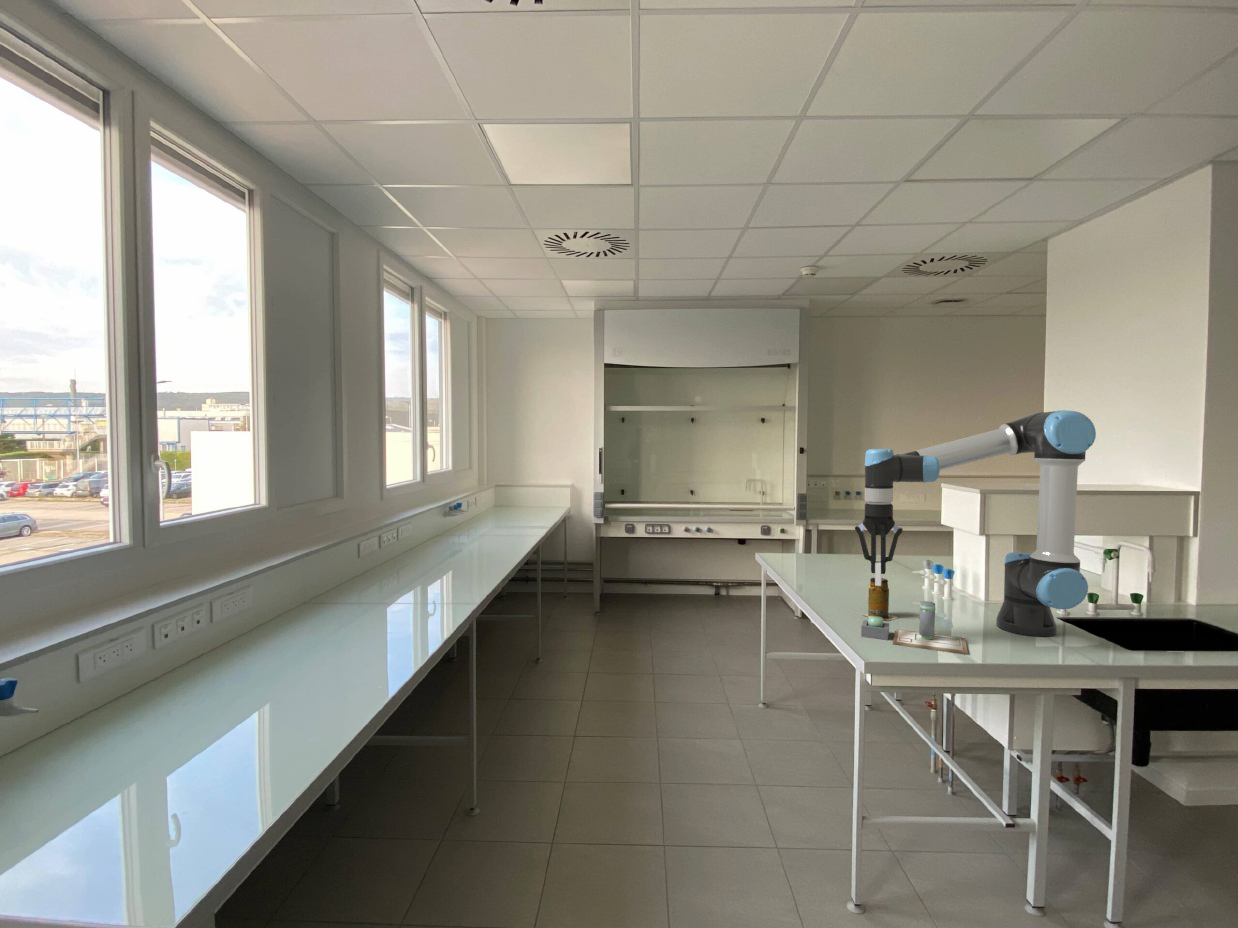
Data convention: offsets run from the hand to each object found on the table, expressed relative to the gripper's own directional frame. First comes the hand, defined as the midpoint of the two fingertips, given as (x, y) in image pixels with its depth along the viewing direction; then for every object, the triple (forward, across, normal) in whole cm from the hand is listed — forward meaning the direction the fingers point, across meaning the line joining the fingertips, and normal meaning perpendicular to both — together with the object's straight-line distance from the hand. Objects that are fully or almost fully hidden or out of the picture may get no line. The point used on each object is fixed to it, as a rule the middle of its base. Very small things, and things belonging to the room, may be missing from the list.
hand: (878, 584), depth 183 cm
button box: (+15, +1, 0) cm, 15 cm away
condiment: (+15, +1, -22) cm, 26 cm away
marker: (+14, -13, -1) cm, 19 cm away
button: (+13, +1, 0) cm, 13 cm away
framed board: (+15, -13, 0) cm, 20 cm away
